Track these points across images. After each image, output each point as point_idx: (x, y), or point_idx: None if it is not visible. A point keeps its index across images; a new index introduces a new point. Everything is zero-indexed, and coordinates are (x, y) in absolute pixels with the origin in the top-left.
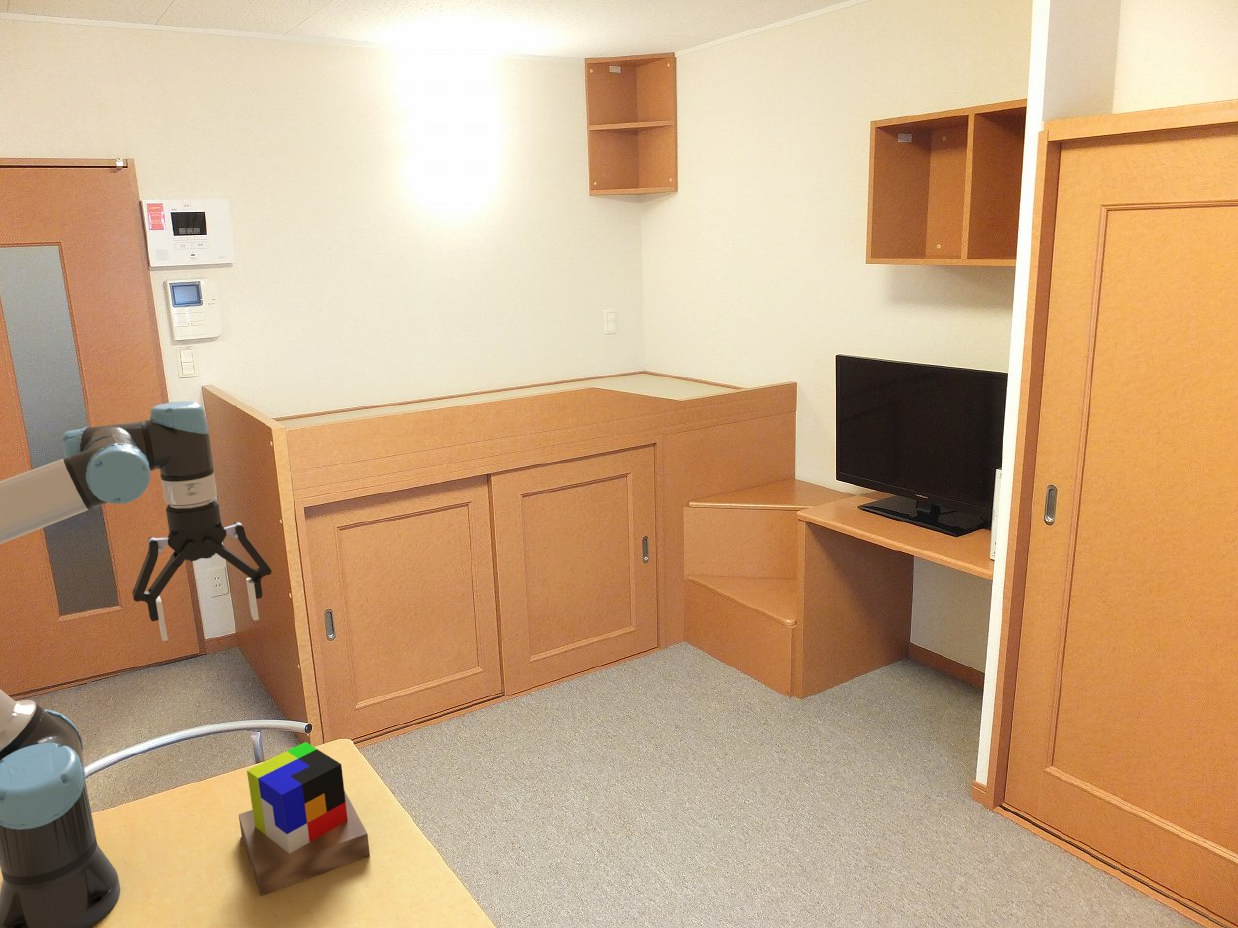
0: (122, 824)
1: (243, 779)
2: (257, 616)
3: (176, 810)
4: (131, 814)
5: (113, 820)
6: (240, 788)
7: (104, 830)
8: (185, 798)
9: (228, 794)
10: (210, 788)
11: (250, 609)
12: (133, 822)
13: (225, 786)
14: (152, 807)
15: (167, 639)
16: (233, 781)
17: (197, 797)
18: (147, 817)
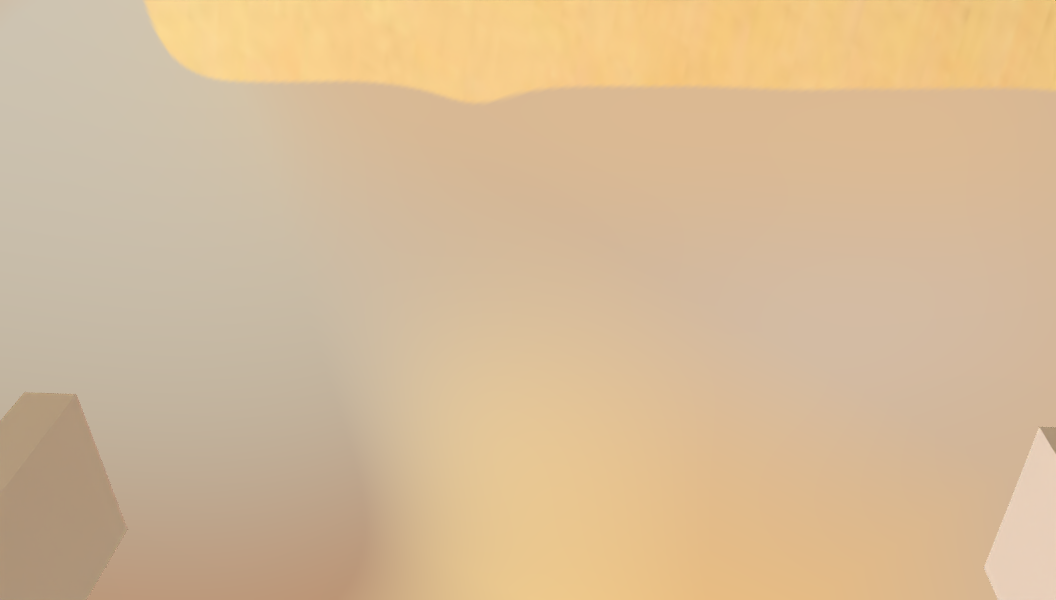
0: (971, 27)
1: (539, 77)
2: (12, 421)
3: (789, 8)
4: (926, 74)
5: (987, 71)
6: (558, 22)
7: (1034, 24)
8: (743, 70)
9: (604, 7)
10: (653, 85)
11: (90, 574)
12: (937, 17)
13: (604, 67)
14: (854, 78)
15: (1048, 431)
16: (573, 84)
17: (705, 52)
18: (887, 22)
